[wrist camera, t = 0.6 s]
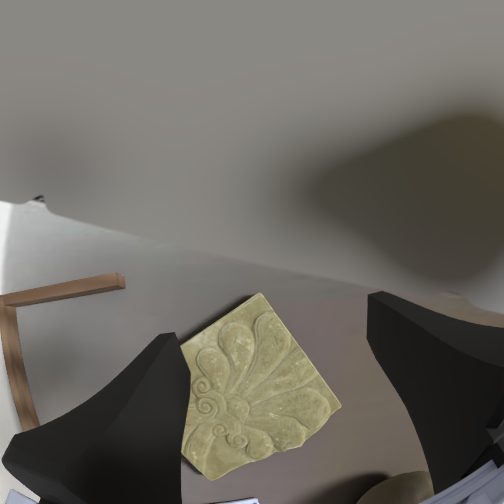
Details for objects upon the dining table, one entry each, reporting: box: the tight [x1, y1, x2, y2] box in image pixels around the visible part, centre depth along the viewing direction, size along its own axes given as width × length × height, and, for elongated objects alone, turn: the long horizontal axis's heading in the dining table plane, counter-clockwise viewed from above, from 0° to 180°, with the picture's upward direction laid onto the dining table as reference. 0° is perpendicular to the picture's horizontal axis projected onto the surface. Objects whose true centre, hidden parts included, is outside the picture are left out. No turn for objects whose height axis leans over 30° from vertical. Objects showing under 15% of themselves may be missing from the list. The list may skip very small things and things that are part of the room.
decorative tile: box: [180, 293, 341, 481], centre depth 30 cm, size 18×20×4 cm
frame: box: [0, 273, 125, 432], centre depth 27 cm, size 35×22×3 cm, turn 12°
